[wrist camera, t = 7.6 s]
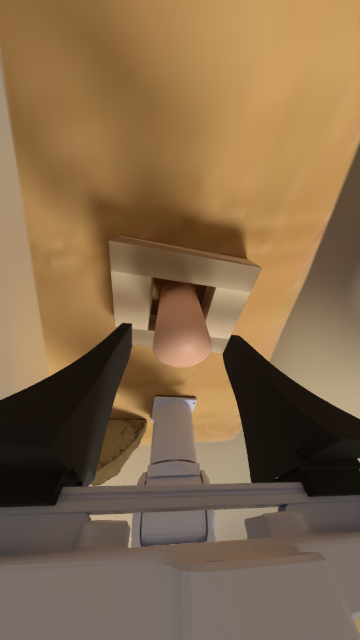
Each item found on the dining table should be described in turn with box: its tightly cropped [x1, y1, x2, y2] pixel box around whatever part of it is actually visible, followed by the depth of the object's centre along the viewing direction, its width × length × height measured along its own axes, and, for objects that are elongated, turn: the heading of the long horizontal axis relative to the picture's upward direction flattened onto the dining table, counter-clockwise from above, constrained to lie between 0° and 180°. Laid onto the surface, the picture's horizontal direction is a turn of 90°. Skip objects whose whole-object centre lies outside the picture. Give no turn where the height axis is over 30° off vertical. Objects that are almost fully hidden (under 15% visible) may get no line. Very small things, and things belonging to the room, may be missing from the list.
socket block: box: [108, 236, 262, 353], centre depth 16 cm, size 10×12×3 cm
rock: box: [91, 419, 147, 486], centre depth 31 cm, size 11×9×10 cm
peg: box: [153, 280, 212, 367], centre depth 14 cm, size 4×4×8 cm
